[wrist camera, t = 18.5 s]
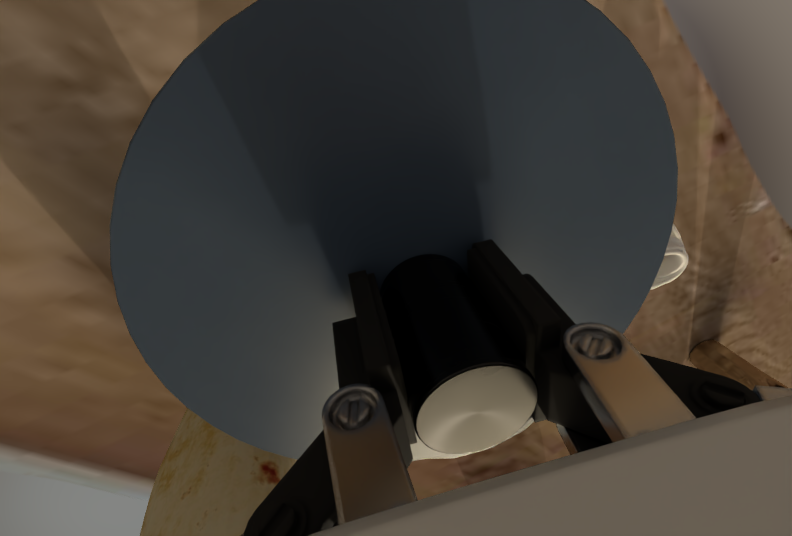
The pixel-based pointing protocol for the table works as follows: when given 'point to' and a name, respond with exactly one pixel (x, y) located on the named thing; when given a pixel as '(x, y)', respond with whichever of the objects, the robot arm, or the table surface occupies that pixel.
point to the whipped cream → (672, 260)
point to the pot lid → (386, 204)
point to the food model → (209, 483)
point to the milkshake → (729, 365)
